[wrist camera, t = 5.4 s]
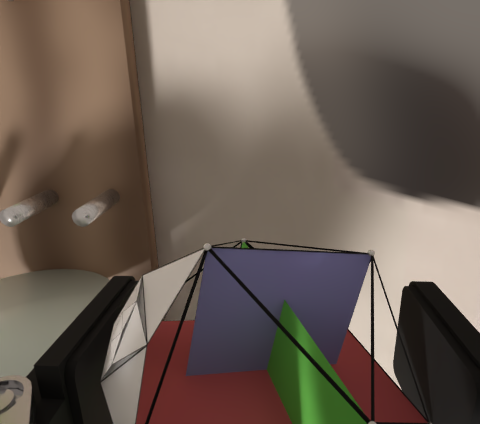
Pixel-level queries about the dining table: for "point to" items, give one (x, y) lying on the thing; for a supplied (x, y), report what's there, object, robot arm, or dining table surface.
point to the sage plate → (40, 312)
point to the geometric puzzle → (252, 344)
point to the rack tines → (50, 197)
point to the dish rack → (73, 137)
